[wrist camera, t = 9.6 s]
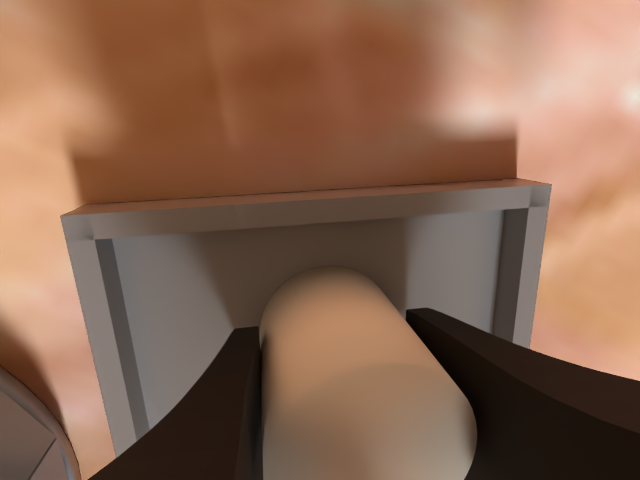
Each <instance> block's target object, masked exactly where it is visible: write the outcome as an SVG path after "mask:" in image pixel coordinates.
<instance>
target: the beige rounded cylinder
mask: <svg viewBox="0 0 640 480" xmlns="http://www.w3.org/2000/svg"><path fill="white" fill-rule="evenodd" d="M260 350H261V405H262V448H263V480H464V478H465V477H466V475H467V473H468V471H469V469H470V466H471V464H472V461H473V458H474V455H475V450H476V444H477V426H476V419H475V416H474V413H473V409H472V407H471V405H470V403H469V401H468V399H467V398H466V397H465V395H464V394H463V392H462V391H461V390H460V389H459V387H458V386H457V385H456V383H455V382H454V381H453V380H452V378H451V377H450V376H449V375H448V373H447V372H446V371H445V370H444V368H443V367H442V366H441V365H440V363H439V362H438V361H437V360H436V358H435V357H434V356H433V355H432V353H431V352H430V351H429V350H428V348H427V347H426V346H425V344H424V343H423V342H422V341H421V339H420V338H419V337H418V336H417V334H416V333H415V332H414V331H413V329H412V328H411V327H410V326H409V324H408V323H407V322H406V321H405V319H404V318H403V317H402V316H401V314H400V313H399V312H398V311H397V309H396V308H395V307H394V305H393V304H392V303H391V302H390V300H389V299H388V298H387V297H386V295H385V294H384V293H383V292H382V290H381V289H380V288H379V287H378V285H377V284H376V283H375V282H374V281H372V280H371V279H370V278H368V277H367V276H366V275H364V274H362V273H360V272H358V271H355V270H353V269H350V268H345V267H339V266H323V267H317V268H313V269H309V270H306V271H304V272H301V273H299V274H297V275H295V276H294V277H292V278H290V279H289V280H287V281H286V282H285V283H283V284H282V285H281V286H280V287H279V288H278V289H277V290H276V291H275V293H274V294H273V295H272V296H271V298H270V300H269V301H268V303H267V304H266V307H265V309H264V311H263V314H262V318H261V323H260Z"/></svg>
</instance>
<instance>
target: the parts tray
mask: <svg viewBox="0 0 640 480" xmlns="http://www.w3.org/2000/svg"><path fill="white" fill-rule="evenodd" d="M551 186H552V184H547V183H541V182H536V181H530V180H525V179H519V178H514V179H497V180H481V181H464V182H448V183H431V184H415V185H398V186H382V187H366V188H349V189H333V190H316V191H300V192H283V193H267V194H250V195H234V196H218V197H201V198H185V199H168V200H152V201H135V202H119V203H103V204H86V205H84V206H82V207H80V208H77V209H75V210H73V211H70V212H68V213H66V214H64V215H61V216H60V218H61V222H62V226H63V230H64V235H65V239H66V243H67V248H68V252H69V256H70V261H71V265H72V269H73V273H74V278H75V282H76V286H77V291H78V295H79V299H80V304H81V308H82V312H83V316H84V321H85V325H86V329H87V334H88V338H89V342H90V347H91V351H92V355H93V360H94V364H95V368H96V372H97V377H98V381H99V385H100V390H101V394H102V398H103V403H104V407H105V411H106V415H107V420H108V424H109V428H110V433H111V437H112V441H113V446H114V450H115V454H116V458H117V457H118V456H119V455H121V454H122V453H123V452H124V451H125V450H127V449H128V448H129V447H130V446H132V445H133V444H134V443H135V442H136V441H138V440H139V439H140V438H141V437H142V436H144V435H145V434H146V433H147V432H148V431H150V430H151V429H152V428H153V427H154V426H155V425H156V424H157V423H158V422H159V421H160V420H161V419H163V418H164V417H165V416H166V415H167V414H168V413H169V412H170V411H171V410H172V409H173V408H174V407H175V406H176V404H177V403H178V402H179V401H180V400H181V399H182V398H183V397H184V396H185V394H186V393H187V392H188V391H189V390H190V389H191V387H192V386H193V385H194V384H195V383H196V381H197V380H198V379H199V378H200V377H201V375H202V374H203V373H204V371H205V370H206V369H207V367H208V366H209V365H210V363H211V362H212V361H213V359H214V358H215V357H216V355H217V354H218V352H219V351H220V349H221V348H222V346H223V345H224V343H225V342H226V340H227V339H228V337H229V335H230V334H231V332H232V331H233V330H234V329H236V328H245V327H254V326H258V328H259V339H260V323H261V318H262V314H263V311H264V309H265V307H266V304H267V303H268V301H269V300H270V298H271V296H272V295H273V294H274V293H275V291H276V290H277V289H278V288H279V287H280V286H281V285H282V284H283V283H285V282H286V281H287V280H289V279H290V278H292V277H294V276H295V275H297V274H299V273H301V272H304V271H306V270H309V269H313V268H317V267H323V266H339V267H345V268H350V269H353V270H355V271H358V272H360V273H362V274H364V275H366V276H367V277H368V278H370V279H371V280H372V281H374V282H375V283H376V284H377V285H378V287H379V288H380V289H381V290H382V292H383V293H384V294H385V295H386V297H387V298H388V299H389V300H390V302H391V303H392V304H393V305H394V307H395V308H396V309H397V311H398V312H399V313H400V314H401V316H402V317H403V318H404V319H405V320H406V310H407V309H416V308H425V307H427V308H431V309H434V310H436V311H439V312H442V313H444V314H446V315H449V316H451V317H453V318H456V319H458V320H460V321H463V322H465V323H467V324H469V325H472V326H474V327H476V328H478V329H481V330H483V331H485V332H488V333H490V334H492V335H495V336H497V337H500V338H502V339H505V340H507V341H509V342H512V343H515V344H517V345H520V346H522V347H525V348H528V349H530V341H531V334H532V326H533V319H534V312H535V304H536V297H537V289H538V282H539V275H540V267H541V260H542V253H543V245H544V238H545V230H546V223H547V216H548V208H549V201H550V193H551Z"/></svg>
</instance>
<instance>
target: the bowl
mask: <svg viewBox="0 0 640 480" xmlns="http://www.w3.org/2000/svg"><path fill="white" fill-rule="evenodd" d="M0 480H81V478H80V472H79V466H78V463H77V460H76V458H75V455H74V452H73V449H72V447H71V444H70V442H69V441H68V439H67V437H66V435H65V433H64V432H63V430H62V428H61V426H60V424H59V423H58V422H57V421H56V419H55V418H54V417H53V415H52V414H51V413H50V412H49V410H48V409H47V408H46V406H45V405H44V404H43V403H42V402H41V401H40V400H39V399H38V398H37V397H36V396H35V395H34V394H33V393H32V392H31V391H30V390H29V389H28V388H27V387H26V386H25V385H24V384H22V383H21V382H20V381H18V380H17V379H16V378H15V377H13V376H12V375H11V374H9V373H8V372H7V371H6V370H4V369H3V368H2V367H0Z"/></svg>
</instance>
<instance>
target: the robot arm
mask: <svg viewBox="0 0 640 480" xmlns="http://www.w3.org/2000/svg"><path fill="white" fill-rule="evenodd" d="M405 321H406V322H407V323H408V324H409V326H410V327H411V328H412V329H413V331H414V332H415V333H416V334H417V336H418V337H419V338H420V339H421V341H422V342H423V343H424V344H425V346H426V347H427V348H428V350H429V351H430V352H431V353H432V355H433V356H434V357H435V358H436V360H437V361H438V362H439V363H440V365H441V366H442V367H443V368H444V370H445V371H446V372H447V373H448V375H449V376H450V377H451V378H452V380H453V381H454V382H455V383H456V385H457V386H458V387H459V389H460V390H461V391H462V392H463V394H464V395H465V397H466V398H467V399H468V401H469V403H470V405H471V407H472V409H473V413H474V416H475V419H476V426H477V444H476V450H475V455H474V458H473V461H472V464H471V466H470V469H469V471H468V473H467V475H466V477H465V478H464V480H640V381H637V380H633V379H629V378H625V377H620V376H616V375H612V374H608V373H604V372H600V371H597V370H593V369H589V368H586V367H582V366H579V365H576V364H572V363H569V362H566V361H563V360H560V359H556V358H553V357H550V356H547V355H544V354H541V353H538V352H536V351H533V350H530V349H528V348H525V347H522V346H520V345H517V344H515V343H512V342H509V341H507V340H505V339H502V338H500V337H497V336H495V335H492V334H490V333H488V332H485V331H483V330H481V329H478V328H476V327H474V326H472V325H469V324H467V323H465V322H463V321H460V320H458V319H456V318H453V317H451V316H449V315H446V314H444V313H442V312H439V311H436V310H434V309H431V308H427V307H425V308H416V309H407V310H406V320H405ZM88 480H263V448H262V405H261V350H260V339H259V328H258V326H254V327H245V328H236V329H234V330H233V331H232V332H231V334H230V335H229V337H228V339H227V340H226V342H225V343H224V345H223V346H222V348H221V349H220V351H219V352H218V354H217V355H216V357H215V358H214V359H213V361H212V362H211V363H210V365H209V366H208V367H207V369H206V370H205V371H204V373H203V374H202V375H201V377H200V378H199V379H198V380H197V381H196V383H195V384H194V385H193V386H192V387H191V389H190V390H189V391H188V392H187V393H186V394H185V396H184V397H183V398H182V399H181V400H180V401H179V402H178V403H177V404H176V406H175V407H174V408H173V409H172V410H171V411H170V412H169V413H168V414H167V415H166V416H165V417H164V418H163V419H161V420H160V421H159V422H158V423H157V424H156V425H155V426H154V427H153V428H152V429H151V430H150V431H148V432H147V433H146V434H145V435H144V436H142V437H141V438H140V439H139V440H138V441H136V442H135V443H134V444H133V445H132V446H130V447H129V448H128V449H127V450H125V451H124V452H123V453H122V454H121V455H119V456H118V457H117V458H116V459H115V460H113V461H112V462H111V463H109V464H108V465H107V466H106V467H104V468H103V469H101V470H100V471H99V472H97V473H96V474H95V475H93V476H92V477H91V478H89V479H88Z"/></svg>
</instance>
